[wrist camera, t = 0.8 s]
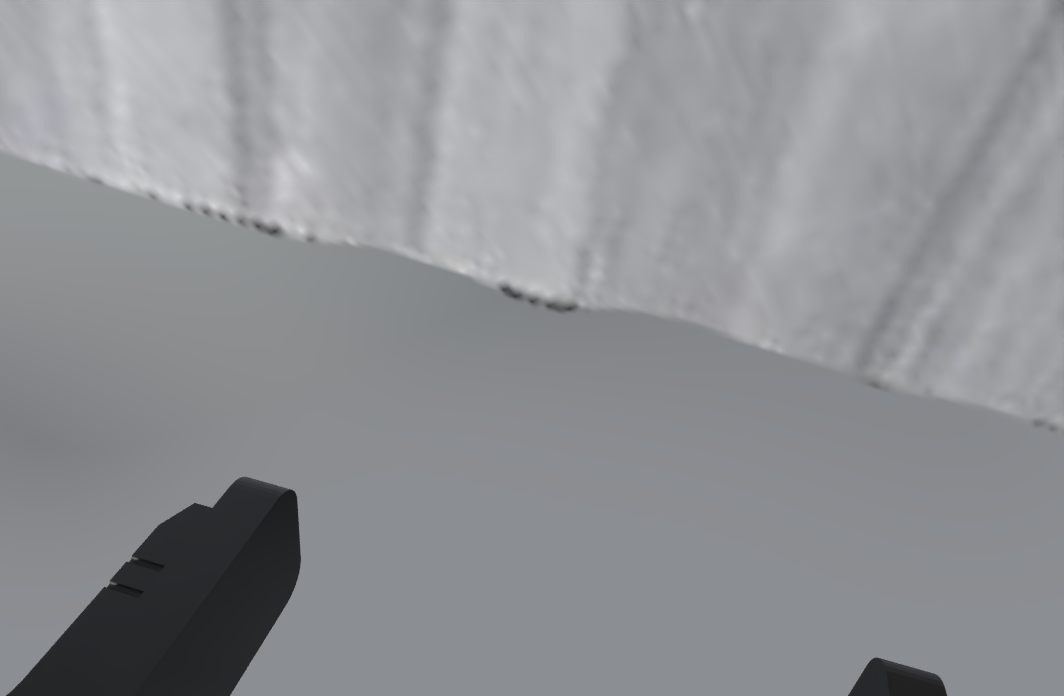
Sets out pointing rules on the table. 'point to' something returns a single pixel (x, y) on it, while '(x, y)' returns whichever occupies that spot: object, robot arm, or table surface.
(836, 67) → the table surface
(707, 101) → the table surface
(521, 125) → the table surface
